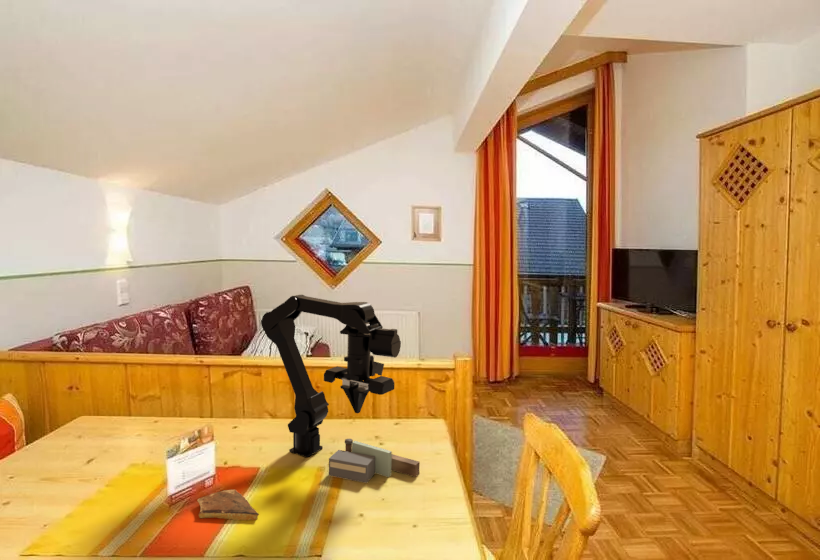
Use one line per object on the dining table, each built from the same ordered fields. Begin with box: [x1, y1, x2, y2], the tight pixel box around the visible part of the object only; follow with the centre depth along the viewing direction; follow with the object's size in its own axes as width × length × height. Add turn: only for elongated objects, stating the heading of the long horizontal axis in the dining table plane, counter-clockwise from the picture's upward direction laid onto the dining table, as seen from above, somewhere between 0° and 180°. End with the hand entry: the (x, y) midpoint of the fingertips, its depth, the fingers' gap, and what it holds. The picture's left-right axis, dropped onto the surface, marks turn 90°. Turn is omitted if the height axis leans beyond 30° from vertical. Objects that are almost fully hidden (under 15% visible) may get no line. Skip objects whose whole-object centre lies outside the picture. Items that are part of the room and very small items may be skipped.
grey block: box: [328, 449, 376, 484], centre depth 113 cm, size 10×5×4 cm, turn 72°
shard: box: [197, 489, 260, 521], centre depth 96 cm, size 13×9×2 cm
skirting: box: [391, 453, 420, 478], centre depth 118 cm, size 18×2×3 cm, turn 61°
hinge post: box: [344, 438, 354, 452], centre depth 119 cm, size 2×2×6 cm
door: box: [352, 440, 393, 478], centre depth 116 cm, size 11×2×6 cm, turn 60°
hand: (357, 412), depth 119 cm, fingers closed
